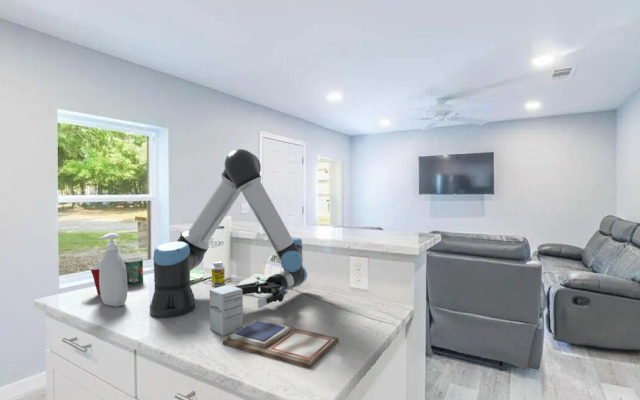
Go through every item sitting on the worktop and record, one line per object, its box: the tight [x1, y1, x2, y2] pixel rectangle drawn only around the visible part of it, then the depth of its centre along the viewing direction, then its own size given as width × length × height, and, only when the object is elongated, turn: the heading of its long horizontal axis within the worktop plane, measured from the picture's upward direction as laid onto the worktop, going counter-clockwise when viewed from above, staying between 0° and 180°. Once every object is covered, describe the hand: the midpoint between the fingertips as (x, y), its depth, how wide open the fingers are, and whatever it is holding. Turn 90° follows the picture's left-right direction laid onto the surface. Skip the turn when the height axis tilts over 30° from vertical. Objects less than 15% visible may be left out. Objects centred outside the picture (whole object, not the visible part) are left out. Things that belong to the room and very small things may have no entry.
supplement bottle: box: [211, 260, 226, 287], centre depth 152 cm, size 6×6×10 cm
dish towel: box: [153, 269, 204, 286], centre depth 162 cm, size 18×23×3 cm
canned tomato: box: [123, 257, 144, 287], centre depth 155 cm, size 8×8×11 cm
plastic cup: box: [89, 264, 101, 297], centre depth 141 cm, size 11×11×12 cm
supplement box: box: [209, 284, 244, 337], centre depth 105 cm, size 7×7×13 cm
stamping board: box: [222, 319, 339, 369], centre depth 95 cm, size 28×16×2 cm, turn 62°
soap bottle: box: [97, 232, 128, 308], centre depth 127 cm, size 14×8×27 cm, turn 62°
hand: (241, 300), depth 110 cm, fingers open, 13 cm apart
